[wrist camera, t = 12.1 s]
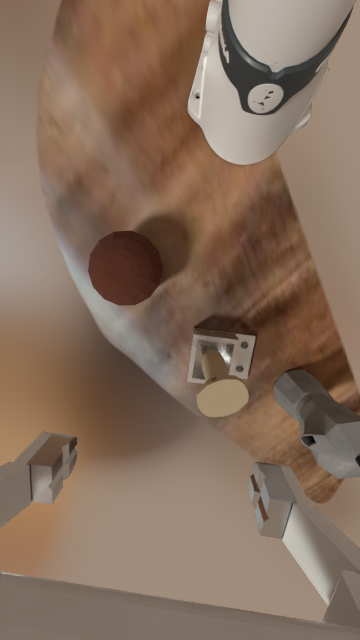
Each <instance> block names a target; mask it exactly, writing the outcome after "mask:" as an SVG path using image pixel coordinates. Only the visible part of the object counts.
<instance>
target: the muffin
mask: <svg viewBox="0 0 360 640" xmlns="http://www.w3.org/2000/svg"><path fill="white" fill-rule="evenodd" d="M162 269H163V268H162V264H161V260H160V256H159V252H158V250H157V249H156V248H155V247H154V245H153V244H152V243H151V242H150V241H149V239H148V238H146V237H144V236H142V235H140V234H137V233H135V232H133V231H118V232H113V233H111V234H109V235H108V236H106V237H104V238H102V239H101V240H99V242H98V243H97V245H96V246H95V248H94V249H93V251H92V253H91V254H90V261H89V269H88V272H89V275H90V278H91V281H92V285H93V287H94V288H95V289H96V290H97V292H98V293H99V294H100V295H101V296H102V297H103V298H104V299H105V300H108V301H110V302H112V303H114V304H117V305H136V304H138V303H140V302H142V301H144V300H146V299H148V298H149V297H150V296H151V295H152V293H153V292H154V291H155V289H156V288H157V287H158V286H159V283H160V278H161V273H162Z"/></svg>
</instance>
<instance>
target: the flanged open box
mask: <svg viewBox="0 0 360 640" xmlns="http://www.w3.org/2000/svg"><path fill="white" fill-rule="evenodd" d="M255 338H256V336H255V335H250V334H242V333H234V332H226V331H217V330H209V329H201V328H193V332H192V340H191V347H190V355H189V362H188V371H187V382H195V383H203V384H204V383H205V382H206V380H205V376H204V373H203V369H202V354H203V352H205V350H206V348H207V347H210V348H217V349H218V352H220V354H221V355H222V357H223V358H224V361H225V363H226V367H227V371H228V375H235V376H237V377H238V378H242V379H247V377H248V372H249V367H250V362H251V357H252V352H253V348H254V343H255Z"/></svg>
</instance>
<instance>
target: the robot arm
mask: <svg viewBox="0 0 360 640" xmlns="http://www.w3.org/2000/svg"><path fill="white" fill-rule="evenodd" d="M355 2H356V0H216V1H215V0H212V1H210V4H209V8H208V13H207V20H206V31H207V34H206V36H205V39H204V45H203V49H202V52H201V56H200V60H199V64H198V67H197V71H196V75H195V78H194V82H193V86H192V90H191V93H190V97H189V101H188V113H189V115H190V116H191V117H192V119H193V120H194V121H195V122H196V123H198V124H199V125H200V127H201V128H202V130H203V132H204V135H205V137H206V139H207V141H208V143H209V145H210V146H211V148H212V149H213V150H214V152H215V153H216V154H218V155H219V156H220V157H221V158H223V159H224V160H226V161H228V162H231V163H234V164H241V165H247V164H253V163H257V162H260V161H262V160H264V159H266V158H267V157H269V156H270V155H272V154H273V153H274V152H275V151H276V150H277V149H278V148H279V147H280V146H281V144H282V143H283V142H284V141H285V140H286V139H287V137H288V136H289V135H290V134H293V133H294V132H296V131H298V130H299V129H301V128H302V127H304V126H305V125H306V123H307V122H308V120H309V118H310V116H311V108H312V100H313V98H314V96H315V95H316V93H317V92H318V90H319V88H320V86H321V85H322V83H323V81H324V80H325V78H326V75H327V73H328V67H327V64H328V58H329V56H330V54H331V53H332V51H333V50H334V48H335V46H336V44H337V43H338V40H339V38H340V36H341V34H342V32H343V30H344V28H345V27H346V24H347V22H348V20H349V18H350V15H351V12H352V9H353V6H354V4H355ZM197 96H199V97H200V98H199V99H196V97H197ZM76 445H77V437H75V436H69V435H63V434H58V433H50V432H42V433H41V434H40V435H39V436H38V437H37V438H36V439H35V440H34V441H33V442H32V443H31V444H30V445H29V446H28V447H27V448H26V449H25V450H24V451H23V453H21V454H20V455H19V456H18V458H17V459H16V460H15V461H14V462H8V463H6V464H4V465H2V466H0V528H1V527H2V526H4V525H5V524H6V523H7V522H8V521H10V520H11V519H12V518H13V517H15V516H16V515H17V514H18V513H19V512H21V511H22V510H23V509H25V508H26V507H27V506H28V505H30V504H31V502H39V503H48V504H53V502H54V501H55V499H56V497H57V496H58V494H59V493H60V491H61V489H62V488H63V481H64V480H65V479H66V478H68V477H69V476H70V474H71V473H72V471H73V469H74V466H75V464H76V460H77V451H76V449H75V447H76ZM252 470H253V473H254V474H253V475H251V476H250V480H249V494H250V498H251V503H252V504H253V505H254V507H255V508H256V513H255V517H256V521H257V525H258V528H259V532H260V535H263V536H268V537H273V538H279V539H282V541H283V542H284V544H285V545H286V547H287V548H288V550H289V551H290V552H291V554H292V555H293V556H294V558H295V559H296V561H297V562H298V564H299V565H300V567H301V568H302V569H303V571H304V572H305V574H306V575H307V576H308V578H309V579H310V581H311V582H312V584H313V585H314V586H315V588H316V589H317V591H318V592H319V593H320V595H321V596H322V598H323V599H324V601H325V602H326V603H327V605H328V608H327V610H326V613H325V615H324V618H323V620H322V622H315V621H309V620H303V619H296V618H290V617H284V616H278V615H271V614H265V613H258V612H253V611H246V610H240V609H234V608H227V607H221V606H215V605H208V604H202V603H196V602H190V601H184V600H177V599H171V598H165V597H159V596H152V595H146V594H140V593H133V592H127V591H120V590H114V589H108V588H101V587H95V586H89V585H83V584H76V583H70V582H64V581H57V580H51V579H45V578H38V577H32V576H26V575H19V574H13V573H7V572H1V571H0V640H360V548H359V547H358V546H357V545H356V544H355V543H354V542H353V541H352V540H351V539H349V538H348V537H347V536H346V535H345V534H344V533H343V532H342V531H341V530H340V529H339V528H338V527H337V526H335V525H334V524H333V523H332V522H331V521H330V520H329V519H328V518H327V517H326V516H325V515H324V514H323V513H322V512H321V511H319V510H318V509H317V508H316V507H315V506H311V504H310V503H309V501H308V499H307V497H306V495H305V493H304V491H303V489H302V487H301V486H300V484H299V482H298V480H297V478H296V476H295V474H294V472H293V471H292V469H291V468H290V467H289V466H286V465H278V464H277V465H276V464H270V463H262V462H254V463H253V467H252Z"/></svg>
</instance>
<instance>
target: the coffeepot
mask: <svg viewBox="0 0 360 640" xmlns="http://www.w3.org/2000/svg"><path fill="white" fill-rule="evenodd" d="M274 395H275V401H276V402H277V403H278V404H279V405H280V406H281V407H282V408H283V409H285V410H286V411H287V412H288V413H289V414H290V415H291V416H292V417H293V418H294V419H295V420H297V421H298V422H299V425H300V429H301V431H302V433H303V434H302V435H300V439H301V441H302V443H303V444H304V445H305V446H307V447H308V448H310V449H311V451H312V453H313V456H314V458H315V460H316V462H317V464H318V465H319V466H320V467H322V468H323V469H325V470H326V471H328V472H329V473H331V474H332V475H334V476H335V477H337V478H338V479H342V478H352V477H360V416H358V415H357V414H355V413H354V412H352V411H350V410H349V409H347V408H346V407H344V406H342V405H341V404H339V403H338V402H336V401H335V400H333V398H332V397H331V395H330V394H329V393H328V392H327V390H326V389H325V388H324V386H323V385H322V384H321V383H320V381H319V380H318V379H317V378H315V377H314V376H313V375H311V374H310V373H308V372H307V371H305V370H304V369H303V370H292V371H288V372H285V373H284V374H283V375H281V376H280V377H279V378H278V380H277V381H276V383H275V384H274Z"/></svg>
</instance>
